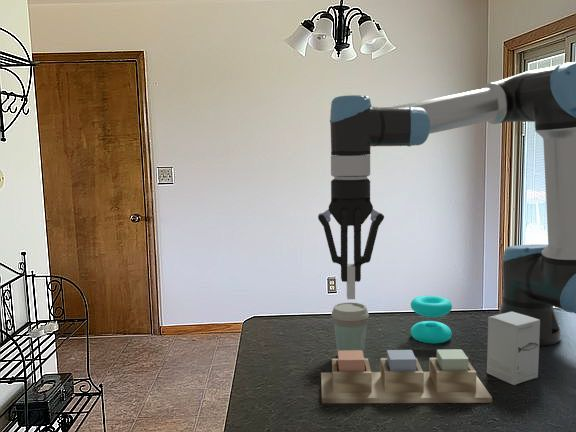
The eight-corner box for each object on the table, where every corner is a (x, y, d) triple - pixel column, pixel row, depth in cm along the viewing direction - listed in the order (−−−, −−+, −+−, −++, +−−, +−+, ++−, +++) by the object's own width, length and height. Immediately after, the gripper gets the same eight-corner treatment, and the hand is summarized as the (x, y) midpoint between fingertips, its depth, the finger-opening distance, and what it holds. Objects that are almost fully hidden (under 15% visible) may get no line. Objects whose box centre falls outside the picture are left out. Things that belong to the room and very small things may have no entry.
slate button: (411, 368, 112) (411, 349, 111) (416, 378, 107) (416, 359, 106) (387, 368, 112) (387, 350, 112) (390, 379, 107) (390, 359, 107)
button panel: (473, 375, 115) (473, 353, 114) (492, 402, 103) (492, 377, 103) (321, 377, 117) (320, 354, 116) (322, 403, 105) (321, 378, 104)
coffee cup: (368, 365, 122) (367, 313, 121) (330, 363, 124) (329, 311, 122) (370, 351, 131) (369, 302, 129) (334, 349, 132) (333, 301, 131)
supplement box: (514, 386, 110) (516, 325, 108) (485, 373, 116) (486, 315, 115) (539, 378, 113) (541, 319, 112) (510, 366, 120) (511, 310, 118)
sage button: (461, 368, 111) (461, 349, 111) (468, 378, 106) (468, 358, 106) (436, 368, 112) (436, 349, 111) (442, 378, 107) (442, 359, 106)
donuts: (449, 294, 141) (454, 305, 131) (448, 332, 142) (454, 345, 132) (409, 293, 142) (412, 305, 133) (409, 331, 144) (412, 344, 134)
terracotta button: (362, 369, 112) (362, 350, 112) (364, 379, 107) (364, 359, 107) (338, 369, 113) (337, 350, 112) (339, 379, 108) (338, 360, 107)
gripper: (382, 176, 109) (381, 292, 112) (316, 177, 109) (317, 292, 112) (387, 178, 101) (386, 302, 104) (316, 179, 102) (317, 302, 105)
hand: (350, 297), depth 108 cm, fingers closed
